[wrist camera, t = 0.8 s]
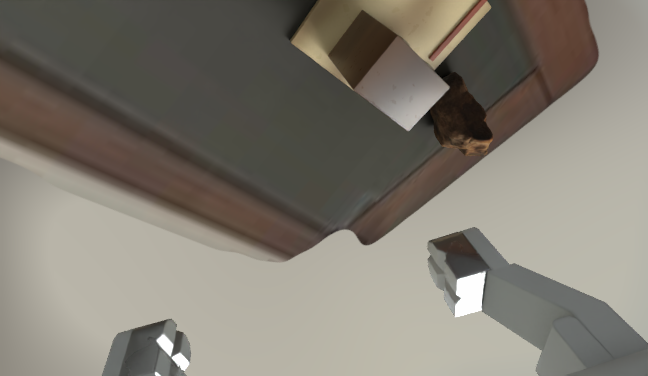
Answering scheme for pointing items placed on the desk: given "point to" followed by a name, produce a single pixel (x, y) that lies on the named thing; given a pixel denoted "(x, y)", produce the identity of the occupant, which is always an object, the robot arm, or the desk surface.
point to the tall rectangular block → (387, 71)
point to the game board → (391, 26)
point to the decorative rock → (460, 119)
